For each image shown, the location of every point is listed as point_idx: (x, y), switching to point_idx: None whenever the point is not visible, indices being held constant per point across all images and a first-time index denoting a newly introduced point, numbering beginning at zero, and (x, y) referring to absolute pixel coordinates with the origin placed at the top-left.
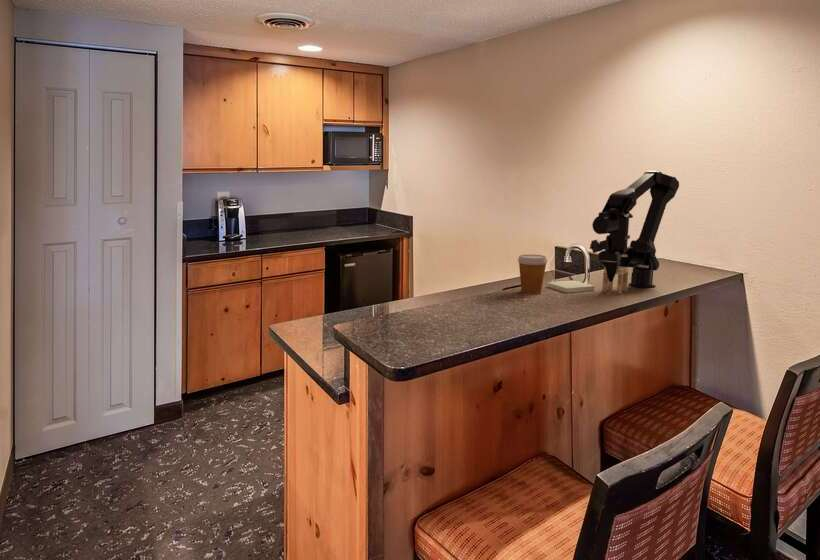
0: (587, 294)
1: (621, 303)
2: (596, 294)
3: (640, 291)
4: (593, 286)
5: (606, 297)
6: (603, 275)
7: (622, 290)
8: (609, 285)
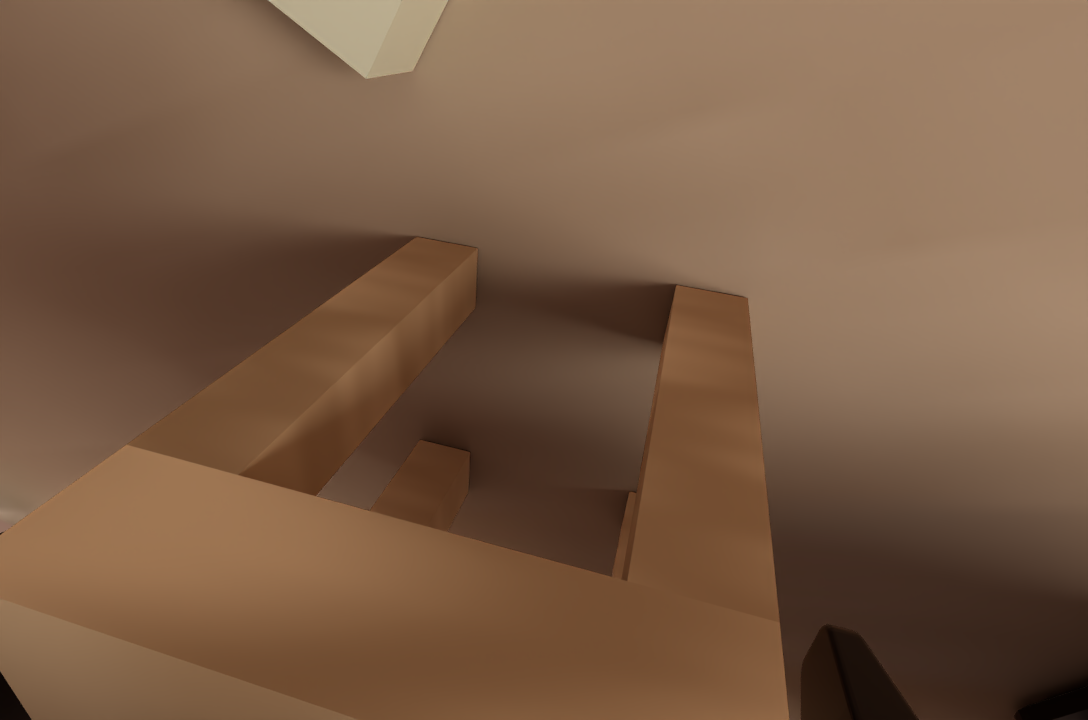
0: (53, 65)
1: (35, 494)
2: (165, 199)
3: None
4: (351, 61)
5: (122, 351)
6: (203, 393)
7: (628, 504)
8: (663, 349)
